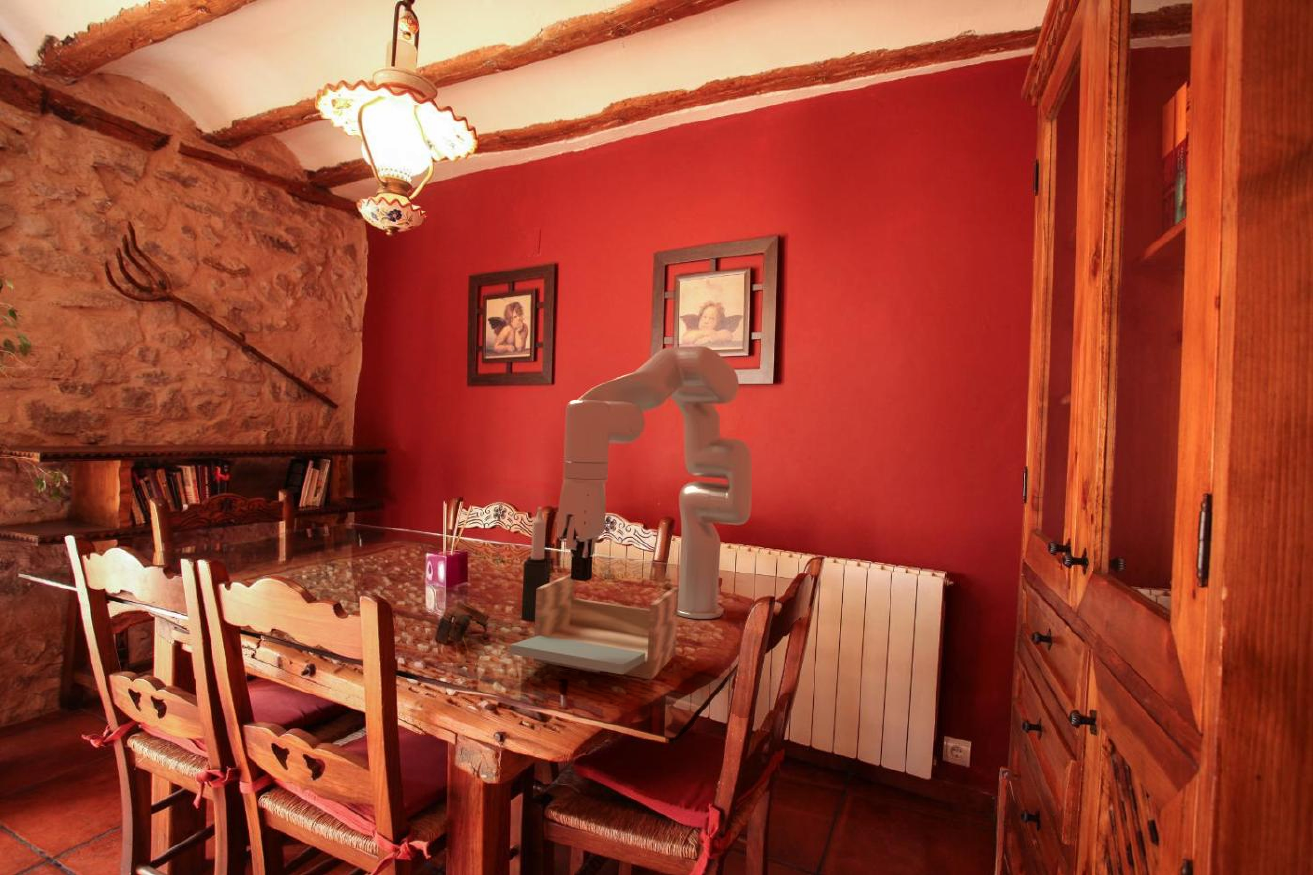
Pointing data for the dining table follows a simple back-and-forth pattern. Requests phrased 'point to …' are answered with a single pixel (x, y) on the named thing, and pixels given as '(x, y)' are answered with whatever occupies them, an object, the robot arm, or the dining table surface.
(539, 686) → the dining table surface
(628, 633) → the wooden tray crate
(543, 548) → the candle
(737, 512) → the robot arm
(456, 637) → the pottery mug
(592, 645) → the panel
